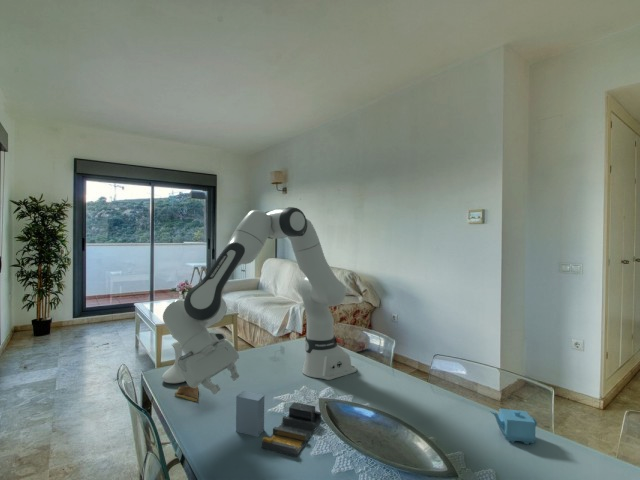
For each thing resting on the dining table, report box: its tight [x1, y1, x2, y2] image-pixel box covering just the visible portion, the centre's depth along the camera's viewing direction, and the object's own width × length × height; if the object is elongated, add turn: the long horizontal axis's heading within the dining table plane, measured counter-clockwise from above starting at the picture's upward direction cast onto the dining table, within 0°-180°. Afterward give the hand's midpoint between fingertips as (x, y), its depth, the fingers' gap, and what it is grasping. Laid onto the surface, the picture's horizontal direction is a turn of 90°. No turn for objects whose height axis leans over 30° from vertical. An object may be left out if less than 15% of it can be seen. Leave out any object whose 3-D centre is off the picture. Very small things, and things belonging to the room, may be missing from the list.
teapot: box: [489, 408, 538, 445], centre depth 94 cm, size 12×6×8 cm, turn 79°
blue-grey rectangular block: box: [235, 390, 265, 437], centre depth 96 cm, size 7×4×10 cm, turn 70°
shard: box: [174, 385, 199, 402], centre depth 116 cm, size 11×8×2 cm
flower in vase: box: [161, 335, 186, 384], centre depth 129 cm, size 13×11×25 cm
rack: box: [261, 401, 323, 458], centre depth 95 cm, size 10×19×4 cm, turn 160°
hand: (227, 385), depth 98 cm, fingers open, 8 cm apart
